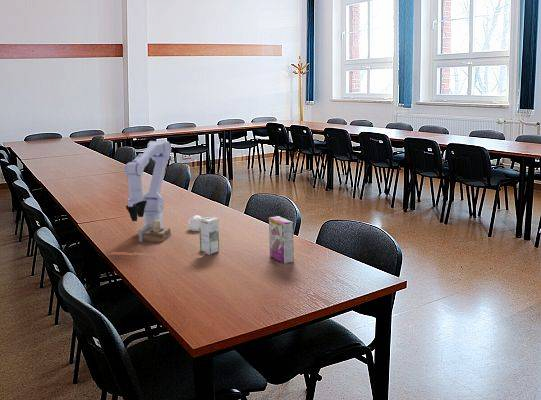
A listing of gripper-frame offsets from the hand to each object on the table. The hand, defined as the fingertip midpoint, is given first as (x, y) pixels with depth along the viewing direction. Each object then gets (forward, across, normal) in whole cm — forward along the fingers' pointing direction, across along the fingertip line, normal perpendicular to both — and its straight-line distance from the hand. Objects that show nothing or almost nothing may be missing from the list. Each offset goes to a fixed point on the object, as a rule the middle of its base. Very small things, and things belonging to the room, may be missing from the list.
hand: (137, 218), depth 250 cm
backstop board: (+10, +1, +12) cm, 16 cm away
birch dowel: (+8, +1, +9) cm, 12 cm away
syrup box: (+10, +16, +37) cm, 41 cm away
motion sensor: (+10, -15, +23) cm, 29 cm away
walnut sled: (+8, +1, +9) cm, 12 cm away
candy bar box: (+10, +23, +68) cm, 72 cm away
